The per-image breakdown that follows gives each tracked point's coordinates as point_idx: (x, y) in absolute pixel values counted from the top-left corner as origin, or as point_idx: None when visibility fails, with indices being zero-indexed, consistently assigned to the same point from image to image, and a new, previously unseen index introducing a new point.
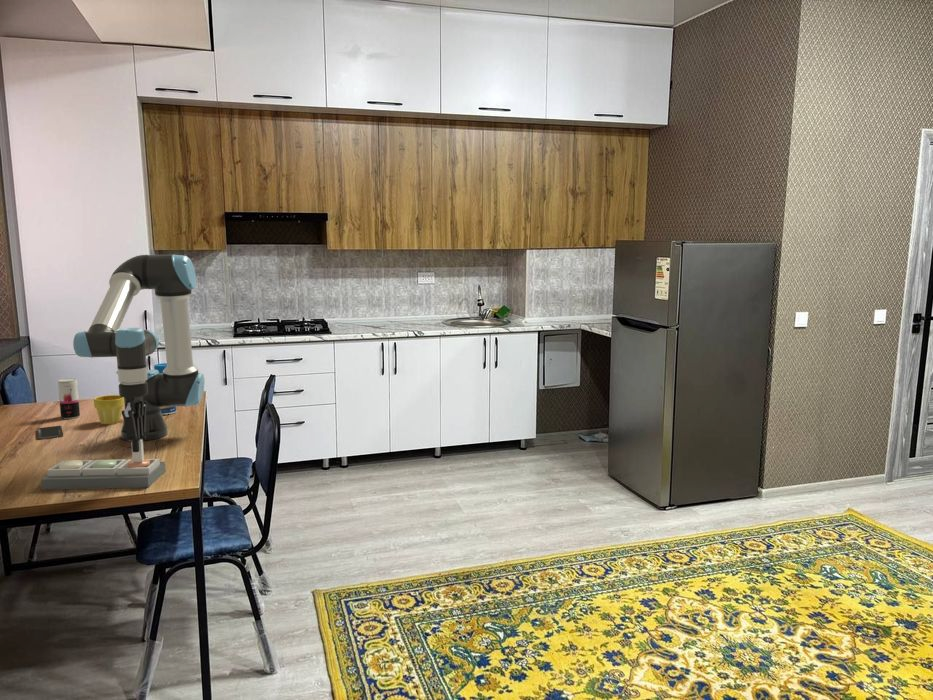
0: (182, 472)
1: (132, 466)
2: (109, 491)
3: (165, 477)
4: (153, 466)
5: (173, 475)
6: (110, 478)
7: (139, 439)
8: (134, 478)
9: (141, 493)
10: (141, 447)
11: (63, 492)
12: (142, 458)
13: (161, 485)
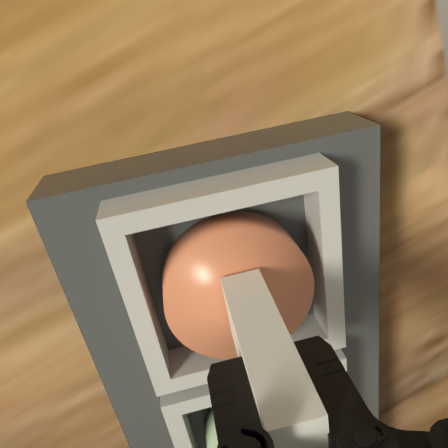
0: (25, 37)
1: (309, 290)
2: (394, 269)
3: (158, 108)
4: (235, 181)
5: (107, 73)
6: (378, 319)
7: (370, 428)
8: (375, 205)
9: (440, 95)
10: (292, 352)
11: (390, 412)
12: (256, 285)
13: (311, 46)
